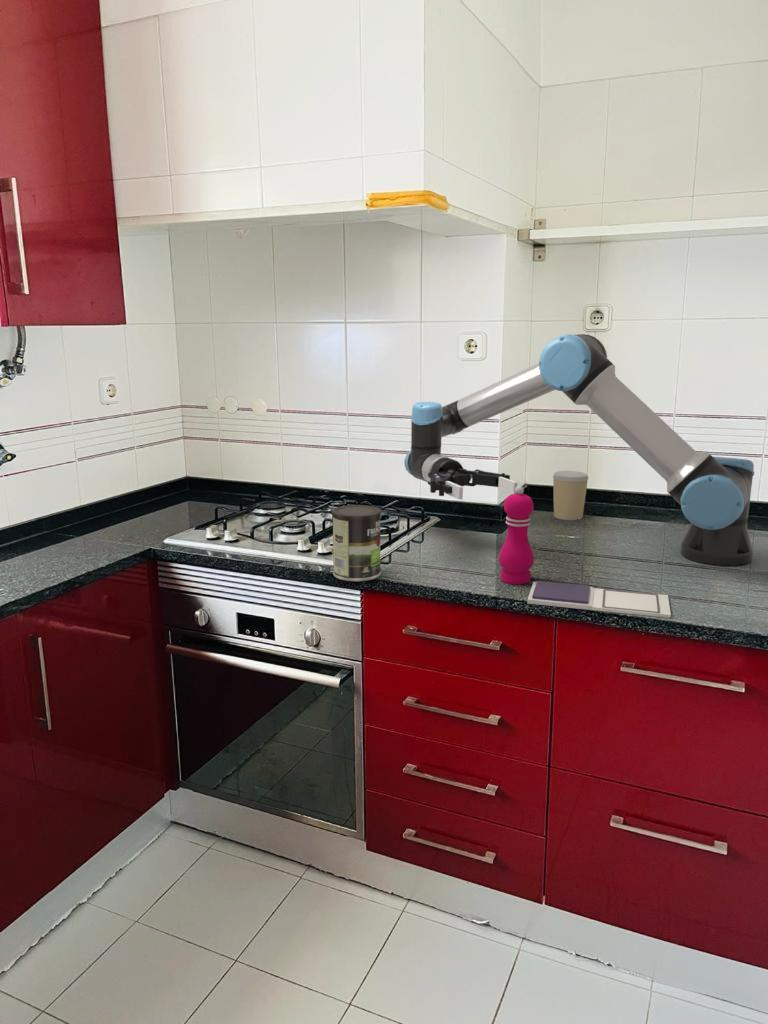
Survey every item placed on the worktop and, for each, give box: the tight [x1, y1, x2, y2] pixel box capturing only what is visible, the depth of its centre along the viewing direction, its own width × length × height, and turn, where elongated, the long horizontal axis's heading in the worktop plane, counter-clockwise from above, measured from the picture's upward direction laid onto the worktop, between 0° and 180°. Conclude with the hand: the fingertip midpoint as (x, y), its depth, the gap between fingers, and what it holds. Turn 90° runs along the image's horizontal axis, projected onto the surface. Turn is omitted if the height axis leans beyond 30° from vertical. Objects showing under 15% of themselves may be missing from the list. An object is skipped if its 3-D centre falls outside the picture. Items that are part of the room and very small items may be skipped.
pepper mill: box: [498, 485, 535, 585], centre depth 162 cm, size 7×7×20 cm
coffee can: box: [331, 504, 382, 582], centre depth 166 cm, size 10×10×14 cm
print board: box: [591, 587, 672, 619], centre depth 151 cm, size 14×11×1 cm
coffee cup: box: [552, 470, 589, 521], centre depth 215 cm, size 9×9×12 cm
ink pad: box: [527, 580, 595, 611], centre depth 154 cm, size 12×11×1 cm
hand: (488, 490), depth 170 cm, fingers open, 13 cm apart
